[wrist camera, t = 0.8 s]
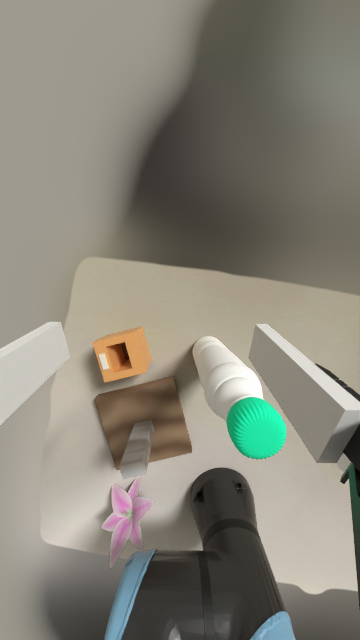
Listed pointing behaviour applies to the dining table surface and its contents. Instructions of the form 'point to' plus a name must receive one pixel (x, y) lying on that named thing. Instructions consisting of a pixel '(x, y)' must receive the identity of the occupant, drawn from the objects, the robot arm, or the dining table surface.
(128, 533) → the lily
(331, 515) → the dining table surface
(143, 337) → the orange slotted box
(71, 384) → the dining table surface
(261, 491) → the dining table surface
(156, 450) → the board
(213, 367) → the water bottle
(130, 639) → the robot arm
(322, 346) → the dining table surface
